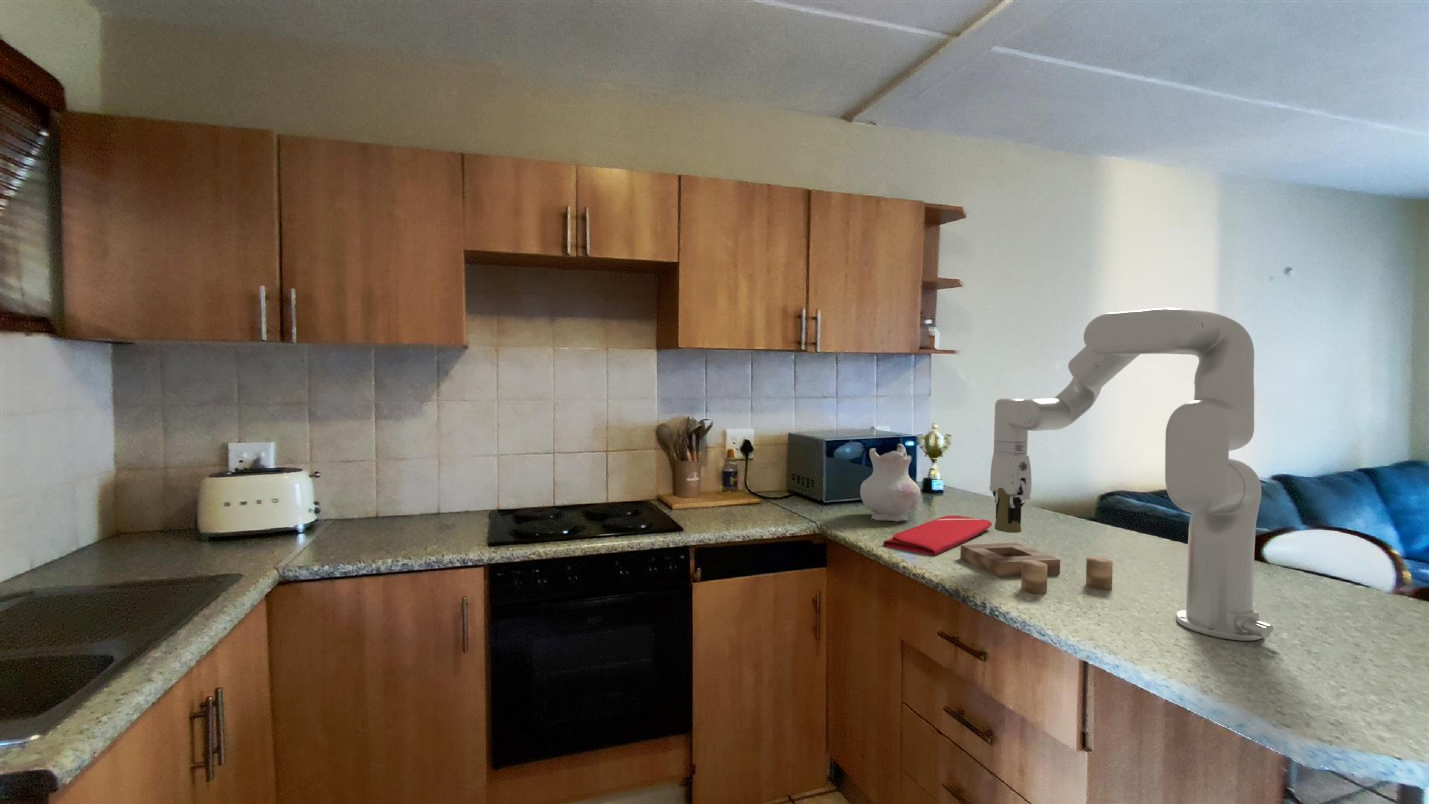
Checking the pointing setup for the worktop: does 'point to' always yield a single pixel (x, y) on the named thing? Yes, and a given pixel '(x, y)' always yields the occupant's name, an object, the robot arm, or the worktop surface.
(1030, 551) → the socket block
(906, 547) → the red folded cloth
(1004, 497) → the cork
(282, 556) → the worktop surface
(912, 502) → the ceramic pitcher
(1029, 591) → the short dowel
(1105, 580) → the short dowel
